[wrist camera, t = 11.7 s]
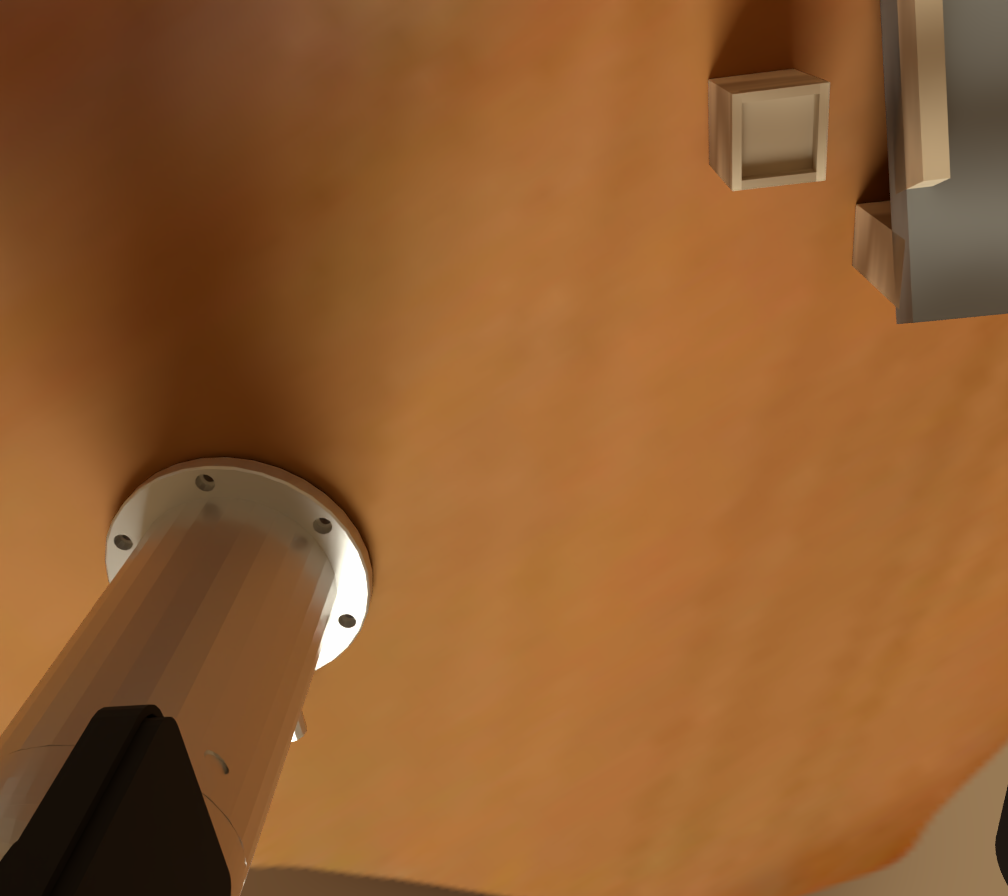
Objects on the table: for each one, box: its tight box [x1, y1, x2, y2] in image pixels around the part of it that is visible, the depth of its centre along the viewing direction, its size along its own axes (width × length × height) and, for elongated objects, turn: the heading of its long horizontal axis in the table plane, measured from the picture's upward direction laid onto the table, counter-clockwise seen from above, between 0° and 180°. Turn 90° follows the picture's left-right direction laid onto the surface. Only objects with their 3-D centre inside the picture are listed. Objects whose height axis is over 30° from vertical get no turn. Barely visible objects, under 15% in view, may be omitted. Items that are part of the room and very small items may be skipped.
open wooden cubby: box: [708, 69, 830, 191], centre depth 30 cm, size 3×3×5 cm
